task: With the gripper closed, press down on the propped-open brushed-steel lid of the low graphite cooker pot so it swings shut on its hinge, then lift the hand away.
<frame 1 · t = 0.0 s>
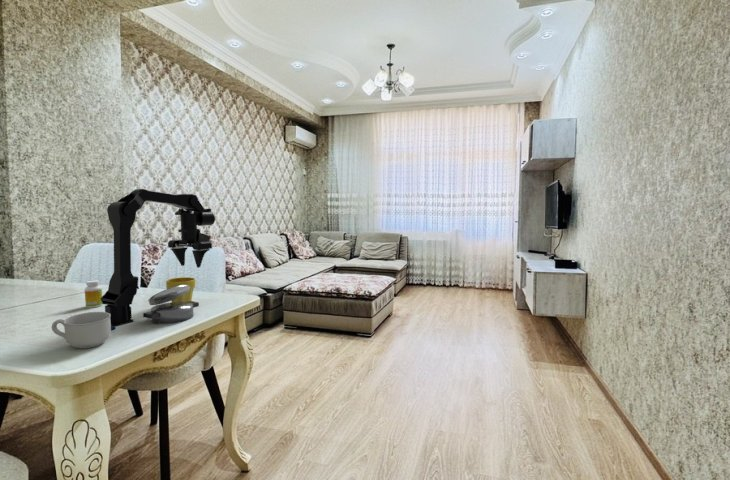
hand: (190, 266, 153), 15 cm above the table, fingers open, 9 cm apart
plant pot: (182, 304, 154), on the table
supplement bottle: (94, 306, 151), on the table
cooker lid: (168, 293, 135), point 9 cm above the table, hinge at 30.0°
teacup: (83, 345, 110), on the table
cooker pot: (172, 317, 135), on the table
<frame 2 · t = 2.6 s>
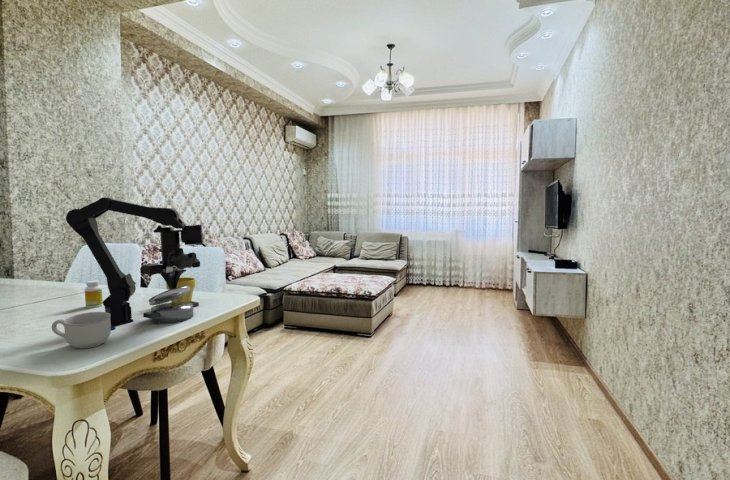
hand: (173, 291, 134), 9 cm above the table, fingers closed, pressing on cooker lid
cooker lid: (169, 293, 135), point 8 cm above the table, hinge at 27.7°, touching gripper
everything else where it was.
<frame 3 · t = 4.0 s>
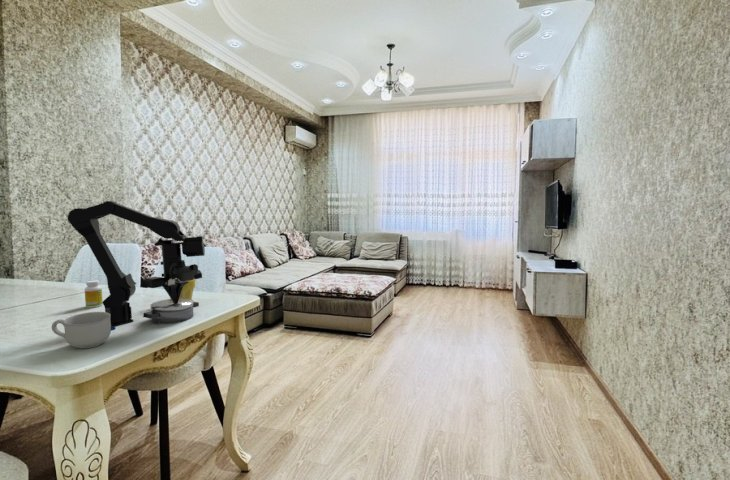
hand: (175, 303, 134), 5 cm above the table, fingers closed, pressing on cooker lid
cooker lid: (172, 302, 135), point 5 cm above the table, hinge at -0.5°, touching cooker pot, gripper
everything else where it was.
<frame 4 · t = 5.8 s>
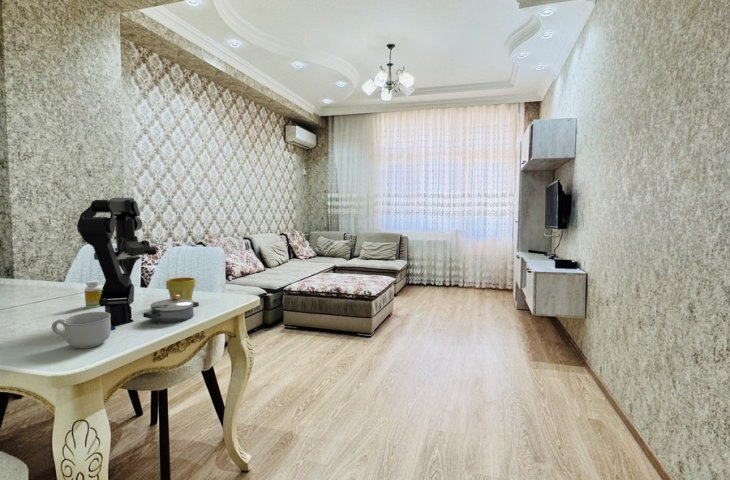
hand: (128, 277, 140), 13 cm above the table, fingers closed
cooker lid: (172, 302, 135), point 5 cm above the table, hinge at -0.4°, touching cooker pot
everything else where it was.
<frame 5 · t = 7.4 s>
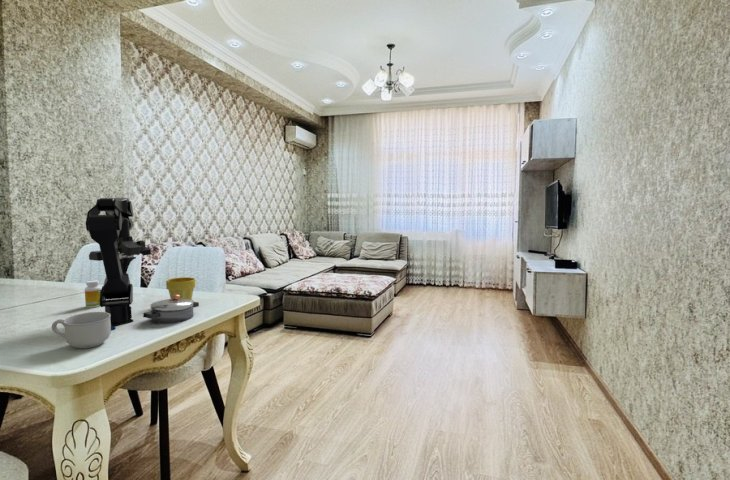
hand: (122, 277, 140), 13 cm above the table, fingers closed
nothing on the table moved.
at the end: cooker lid at +0° (first picture: +30°) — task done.
